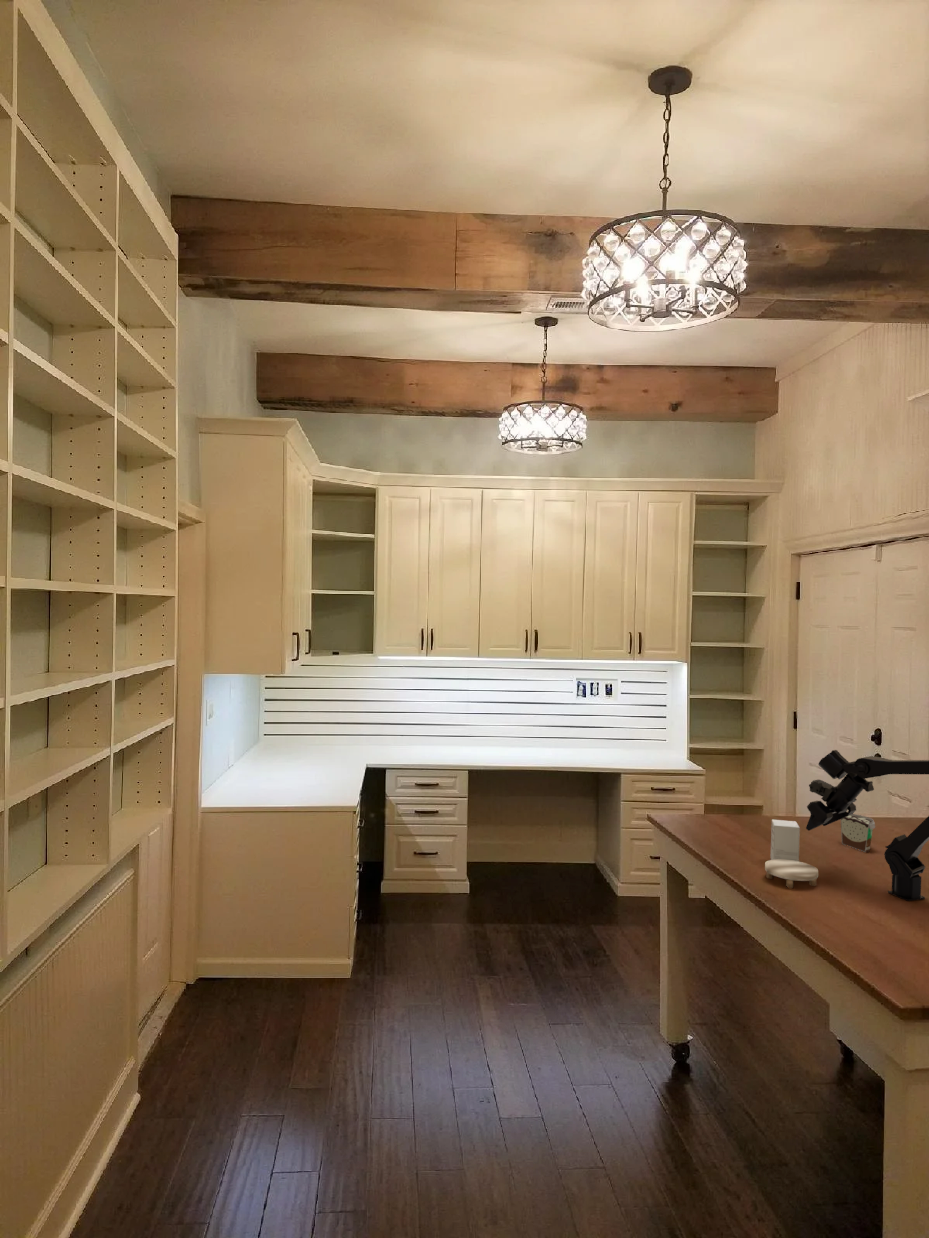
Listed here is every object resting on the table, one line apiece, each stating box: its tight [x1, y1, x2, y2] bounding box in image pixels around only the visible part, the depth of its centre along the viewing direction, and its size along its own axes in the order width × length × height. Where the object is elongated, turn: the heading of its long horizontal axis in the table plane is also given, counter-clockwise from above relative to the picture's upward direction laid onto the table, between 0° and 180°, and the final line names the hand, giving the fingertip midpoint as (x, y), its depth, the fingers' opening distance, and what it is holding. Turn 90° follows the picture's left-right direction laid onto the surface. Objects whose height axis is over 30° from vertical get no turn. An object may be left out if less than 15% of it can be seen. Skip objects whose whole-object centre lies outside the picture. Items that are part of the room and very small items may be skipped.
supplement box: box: [770, 819, 801, 862], centre depth 239 cm, size 7×7×13 cm
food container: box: [840, 813, 876, 853], centre depth 259 cm, size 12×6×10 cm, turn 22°
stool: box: [764, 859, 819, 889], centre depth 224 cm, size 14×14×4 cm
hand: (815, 827), depth 235 cm, fingers open, 9 cm apart
